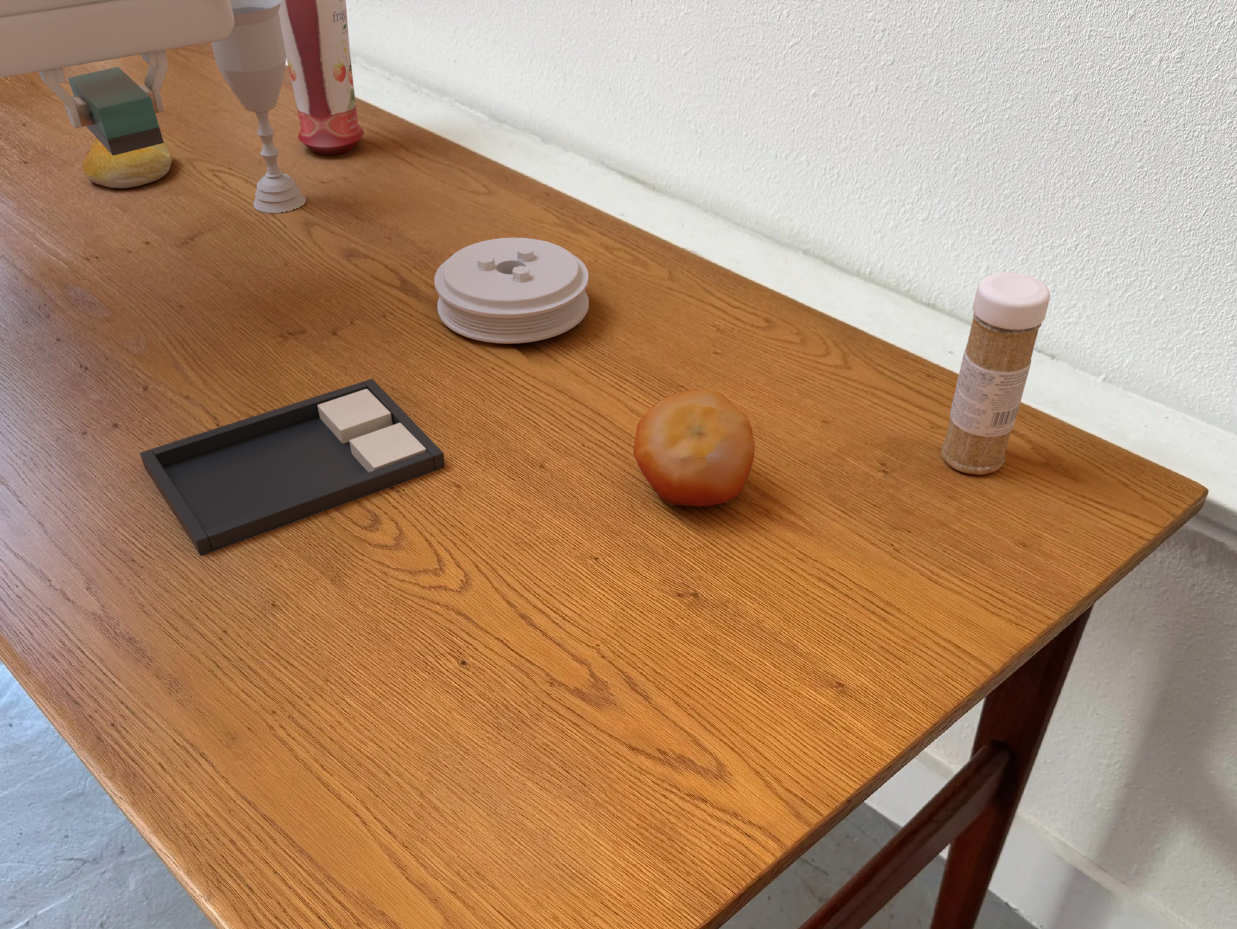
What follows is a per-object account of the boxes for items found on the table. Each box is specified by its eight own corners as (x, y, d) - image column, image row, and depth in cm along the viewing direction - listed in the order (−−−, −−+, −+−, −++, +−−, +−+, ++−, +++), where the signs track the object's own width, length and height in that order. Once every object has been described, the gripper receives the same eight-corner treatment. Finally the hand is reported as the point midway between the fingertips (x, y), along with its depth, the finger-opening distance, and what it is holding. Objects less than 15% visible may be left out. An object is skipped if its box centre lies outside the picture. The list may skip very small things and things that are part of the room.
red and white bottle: (360, 161, 123) (314, -156, 104) (291, 160, 123) (231, -157, 104) (373, 134, 128) (331, -172, 109) (306, 133, 128) (252, -173, 109)
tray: (202, 561, 76) (195, 540, 75) (145, 472, 83) (139, 452, 82) (445, 472, 83) (443, 452, 82) (375, 397, 90) (372, 378, 89)
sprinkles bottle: (986, 437, 86) (1031, 266, 77) (1015, 473, 83) (1065, 299, 74) (928, 445, 86) (966, 273, 77) (955, 481, 82) (998, 306, 73)
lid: (531, 370, 93) (527, 312, 90) (407, 326, 98) (400, 270, 95) (617, 304, 101) (617, 249, 97) (499, 266, 106) (495, 213, 102)
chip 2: (376, 481, 81) (374, 467, 80) (351, 454, 84) (348, 439, 83) (428, 462, 83) (426, 448, 82) (402, 436, 85) (400, 422, 85)
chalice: (299, 181, 119) (263, -14, 107) (329, 204, 115) (295, 4, 103) (230, 199, 116) (185, 0, 104) (258, 223, 112) (215, 19, 100)
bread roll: (80, 193, 117) (67, 152, 114) (101, 157, 123) (89, 118, 121) (165, 190, 117) (154, 150, 115) (182, 154, 124) (172, 115, 121)
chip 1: (342, 444, 85) (340, 430, 84) (319, 418, 87) (317, 404, 86) (393, 426, 86) (391, 412, 85) (369, 401, 89) (366, 388, 88)
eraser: (164, 143, 91) (150, 96, 89) (112, 156, 89) (97, 109, 87) (132, 111, 96) (118, 66, 93) (82, 123, 94) (67, 77, 92)
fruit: (747, 426, 85) (758, 373, 77) (747, 529, 83) (758, 486, 75) (635, 423, 85) (635, 370, 77) (632, 526, 83) (631, 483, 75)
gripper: (-89, -54, 76) (-14, 159, 86) (219, -92, 85) (257, 106, 94) (-106, -76, 80) (-32, 130, 90) (191, -110, 88) (230, 82, 98)
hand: (118, 117), depth 92 cm, fingers closed on eraser, 4 cm apart
